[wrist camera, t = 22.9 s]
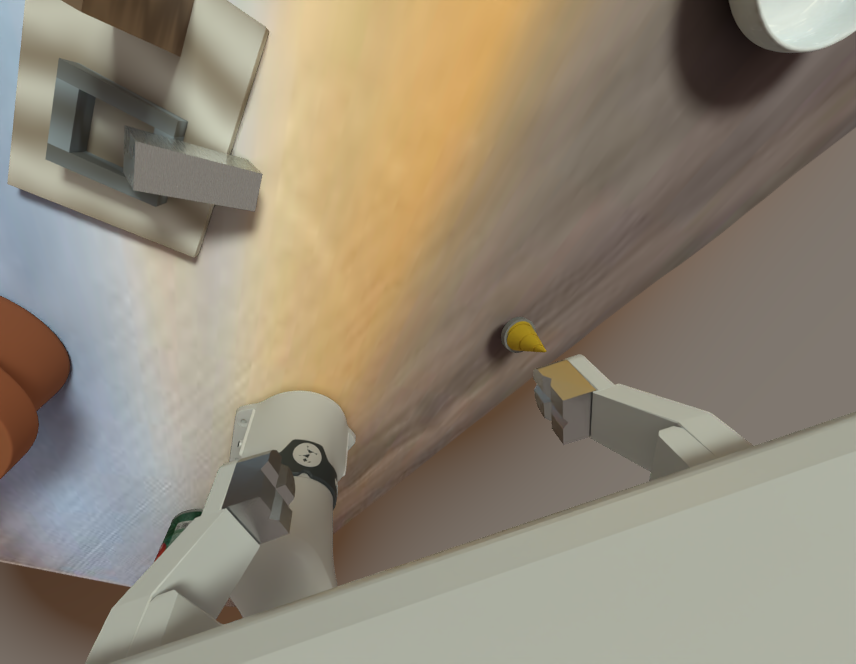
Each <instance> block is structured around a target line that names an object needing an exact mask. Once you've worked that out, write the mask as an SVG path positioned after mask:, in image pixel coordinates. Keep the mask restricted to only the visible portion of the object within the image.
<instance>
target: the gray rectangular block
mask: <svg viewBox="0 0 856 664" xmlns="http://www.w3.org/2000/svg"><path fill="white" fill-rule="evenodd" d="M123 173H124V175H125V176H126V178H127V180H128V182H129V183H130V185H131V187H132V189H133V190H134V191H140V192H146V193H151V194H157V195H163V196H169V197H174V198H180V199H186V200H192V201H197V202H203V203H209V204H215V205H220V206H226V207H232V208H238V209H243V210H249V211H255V208H256V203H257V198H258V194H259V189H260V184H261V179H262V173H261V172H260V171H259V170H258V169H257V168H256V167H255V166H254V165H253V164H252V163H250V162H249V161H248V160H247V159H244V158H240V157H237V156H233V155H229V154H226V153H222V152H219V151H215V150H212V149H208V148H204V147H201V146H197V145H194V144H190V143H186V142H183V141H179V140H176V139H172V138H168V137H165V136H161V135H158V134H154V133H151V132H147V131H143V130H140V129H136V128H133V127H129V126H125V127H124V162H123Z"/></svg>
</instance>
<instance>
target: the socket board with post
mask: <svg viewBox="0 0 856 664" xmlns="http://www.w3.org/2000/svg"><path fill="white" fill-rule="evenodd" d="M268 34H269V30H268V29H267V28H266V27H265V26H263V25H262V24H261V23H259V22H258V21H256V20H255V19H253V18H252V17H250V16H249V15H247V14H246V13H245V12H243V11H242V10H240V9H239V8H237V7H236V6H234V5H233V4H231V3H230V2H228V1H227V0H25V9H24V20H23V30H22V40H21V50H20V61H19V71H18V81H17V91H16V102H15V112H14V122H13V132H12V143H11V153H10V163H9V174H8V184H9V185H12V186H14V187H17V188H19V189H22V190H24V191H27V192H29V193H32V194H34V195H37V196H39V197H42V198H45V199H47V200H50V201H52V202H55V203H57V204H60V205H62V206H65V207H67V208H70V209H72V210H75V211H77V212H80V213H82V214H85V215H87V216H90V217H92V218H95V219H98V220H100V221H103V222H105V223H108V224H110V225H113V226H115V227H118V228H120V229H123V230H125V231H128V232H130V233H133V234H135V235H138V236H140V237H143V238H145V239H148V240H151V241H153V242H156V243H158V244H161V245H163V246H166V247H168V248H171V249H173V250H176V251H178V252H181V253H183V254H186V255H188V256H191V257H193V258H194V257H196V256H197V255H198V254H199V252H200V249H201V245H202V242H203V239H204V236H205V233H206V230H207V226H208V223H209V220H210V217H211V214H212V211H213V208H214V204H209V203H203V202H197V201H192V200H186V199H180V198H174V197H169V196H163V195H157V194H151V193H146V192H140V191H134V190H133V189H132V187H131V185H130V183H129V182H128V180H127V178H126V176H125V175H124V173H123V162H124V127H125V126H129V127H133V128H136V129H140V130H143V131H147V132H151V133H154V134H158V135H161V136H165V137H168V138H172V139H176V140H179V141H183V142H186V143H190V144H194V145H197V146H201V147H204V148H208V149H212V150H215V151H219V152H222V153H226V154H229V155H230V154H231V151H232V148H233V144H234V141H235V138H236V135H237V132H238V129H239V125H240V122H241V119H242V116H243V113H244V110H245V107H246V103H247V100H248V97H249V94H250V91H251V88H252V84H253V81H254V78H255V75H256V72H257V69H258V66H259V62H260V59H261V56H262V53H263V50H264V47H265V43H266V40H267V37H268Z"/></svg>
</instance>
